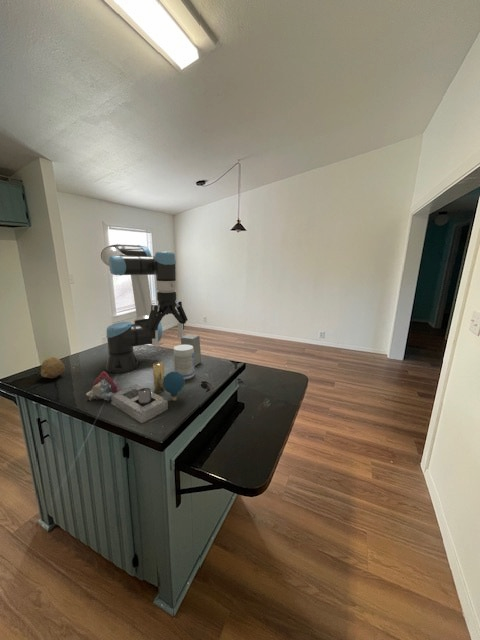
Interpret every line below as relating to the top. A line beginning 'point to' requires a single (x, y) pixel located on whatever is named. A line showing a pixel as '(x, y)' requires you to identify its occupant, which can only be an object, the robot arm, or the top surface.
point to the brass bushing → (158, 376)
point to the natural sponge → (52, 367)
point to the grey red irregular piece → (103, 388)
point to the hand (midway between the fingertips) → (168, 341)
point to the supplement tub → (184, 360)
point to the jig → (139, 402)
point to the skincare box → (195, 342)
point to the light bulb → (173, 383)
